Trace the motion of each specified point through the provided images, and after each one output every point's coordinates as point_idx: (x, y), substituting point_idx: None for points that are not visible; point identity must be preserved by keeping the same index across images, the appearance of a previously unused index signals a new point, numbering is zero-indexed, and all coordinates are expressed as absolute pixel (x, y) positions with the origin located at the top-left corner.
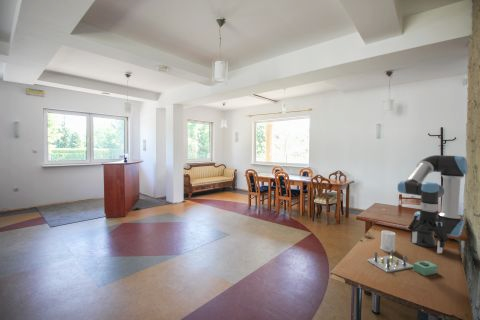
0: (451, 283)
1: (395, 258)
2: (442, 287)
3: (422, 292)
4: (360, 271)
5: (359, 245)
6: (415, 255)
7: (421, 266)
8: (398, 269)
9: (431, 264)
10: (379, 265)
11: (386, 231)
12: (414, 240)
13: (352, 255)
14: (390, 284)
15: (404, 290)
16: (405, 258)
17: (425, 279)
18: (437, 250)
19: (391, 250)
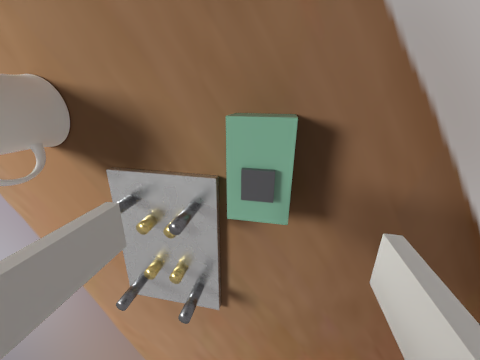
0: (389, 157)
1: (139, 188)
2: (382, 232)
3: (357, 323)
4: (193, 356)
5: (10, 203)
6: (108, 11)
7: (268, 220)
8: (218, 260)
9: (272, 141)
10: (180, 297)
11: None
12: (103, 247)
13: (95, 295)
14: (279, 354)
15: (321, 352)
16: (185, 225)
17: (309, 231)
18: (383, 306)
19: None
